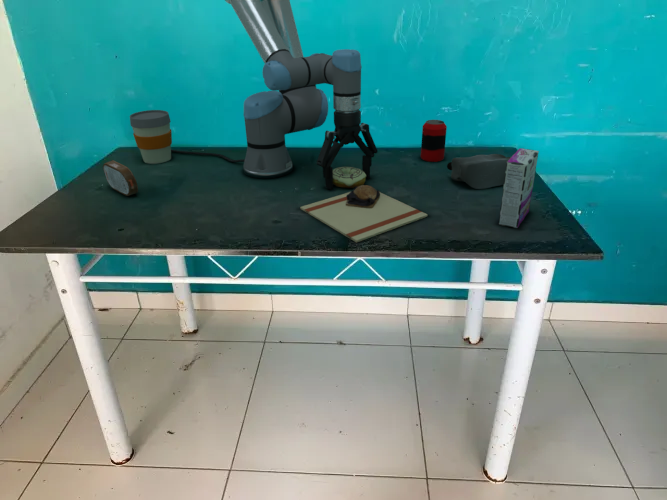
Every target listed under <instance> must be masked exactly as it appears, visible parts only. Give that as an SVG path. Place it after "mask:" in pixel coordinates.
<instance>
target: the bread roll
mask: <svg viewBox="0 0 667 500" xmlns="http://www.w3.org/2000/svg"><path fill="white" fill-rule="evenodd" d="M349 192H350V193H349V194H348V195H347V196H346V198H347V201H346V205H347V206H354V207H361V208H363V207H364V208H373V206H374V205H375V204H376V202H377V200H378V199H379V197H380V192H381V191H380V190H377V189H376V188H374V187H373V186H372V185H367V184H363V185H361V186H358V187H354V188H353V189H352V191H349Z"/></svg>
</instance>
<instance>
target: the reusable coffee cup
mask: <svg viewBox="0 0 667 500" xmlns="http://www.w3.org/2000/svg"><path fill="white" fill-rule="evenodd" d="M171 121H172V120H171V117H170V114H169V111H167V110H163V109H150V110H149V109H148V110H141V111H136V112H134V113H131V114H130V115H129V122H130V123H129V124H130V127H131V128H132V131H133V133H132V134H133V138H134V141H135V144H136V147H137V148H138V149H139V152H140V154H141V157H142V160H143V162H144V163H145V164H151V165H156V164H161V163H167V162H169V161H170V160H172V152H171V150H172V144H173V138H172V134H173V133H172V129H171Z"/></svg>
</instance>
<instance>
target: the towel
mask: <svg viewBox="0 0 667 500" xmlns="http://www.w3.org/2000/svg"><path fill="white" fill-rule="evenodd" d="M350 192H351V191H348V192H345V193H342V194H339V195H336V196H331V197H329V198H325V199H322V200H318V201H316V202H312V203H309V204H305V205H302V206H299V207H300V210H301V211H303V212H304V213H306V214H308V215H309V216H311V217H313V218H314V219H316V220H318V221H320V222H321V223H323V224H325V225H326V226H328V227H330V228H332V229H333V230H334V231H337V232H338V233H340V234H341V235H343V236H345V237H347V238H348V239H349V240H351V241H353V242H355V243H356V244H357V243H359V242H363V241H365V240H368V239H370V238H373V237H376V236H378V235H382V234H383V233H386V232H389V231H392V230H394V229H397V228H400V227H403V226H406V225H408V224H411V223H414V222H416V221H419V220H423V219H424V218H426V217H428V214H427V213H425V212H423V211H421V210H420V209H418V208H415V207H413V206H410V205H408V204H406V203H404V202H402V201H399V200H398V199H396V198H393V197H392V196H389V195H388V194H385V193H382V192H381V191H380V197H379V199H378V200H377V202H376V204H375V205H374V206H373V208H364V207H363V208H361V207H354V206H347V205H346V201H347V198H346V196H347V195H348V194H349V193H350Z"/></svg>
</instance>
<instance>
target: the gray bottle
mask: <svg viewBox="0 0 667 500" xmlns="http://www.w3.org/2000/svg"><path fill="white" fill-rule="evenodd" d="M510 158H511V156H507V157H506V156H505V155H503V154H499V153H491V154H475V155H473V156H467V157H462V156H461V157H453V158H452V159H451V161H450V162H448V163H447V165H446V168H447V170H449V171H451V174H450V178H451V179H452V180H453V181H456V182H465V183H466V184H467V185H468V186H469V187H470V188H472V189H474V190H485V189H490V188H493V187H499V186H504V179H505V172H506V164H507V161H508V160H509V159H510Z"/></svg>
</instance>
